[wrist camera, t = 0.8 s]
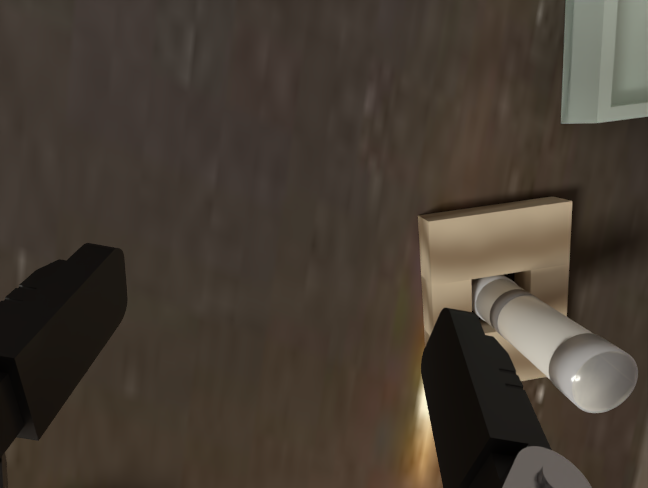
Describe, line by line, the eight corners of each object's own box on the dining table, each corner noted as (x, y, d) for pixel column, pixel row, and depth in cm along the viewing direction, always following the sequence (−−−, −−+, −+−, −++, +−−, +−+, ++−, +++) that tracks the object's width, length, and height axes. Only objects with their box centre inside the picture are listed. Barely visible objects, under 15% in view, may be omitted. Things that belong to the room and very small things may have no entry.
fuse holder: (418, 215, 35) (428, 221, 33) (552, 196, 36) (572, 201, 34) (427, 379, 39) (436, 396, 37) (546, 358, 40) (563, 373, 38)
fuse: (463, 274, 37) (572, 356, 23) (509, 267, 37) (641, 344, 24) (465, 316, 38) (568, 418, 25) (508, 309, 38) (634, 406, 25)
